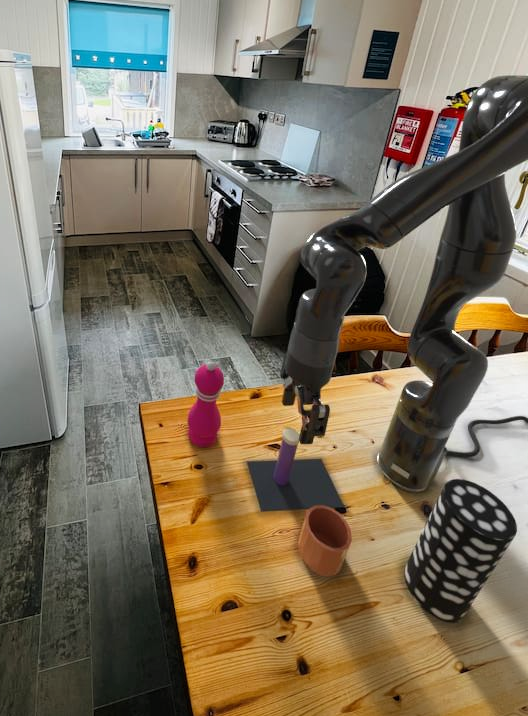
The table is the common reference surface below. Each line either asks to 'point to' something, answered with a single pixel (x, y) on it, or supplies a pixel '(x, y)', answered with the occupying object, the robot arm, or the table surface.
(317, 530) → the cup
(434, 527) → the white-spotted black cylinder
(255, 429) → the table surface
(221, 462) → the table surface
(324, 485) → the mat
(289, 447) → the glue stick
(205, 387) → the pepper mill
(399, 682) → the table surface
